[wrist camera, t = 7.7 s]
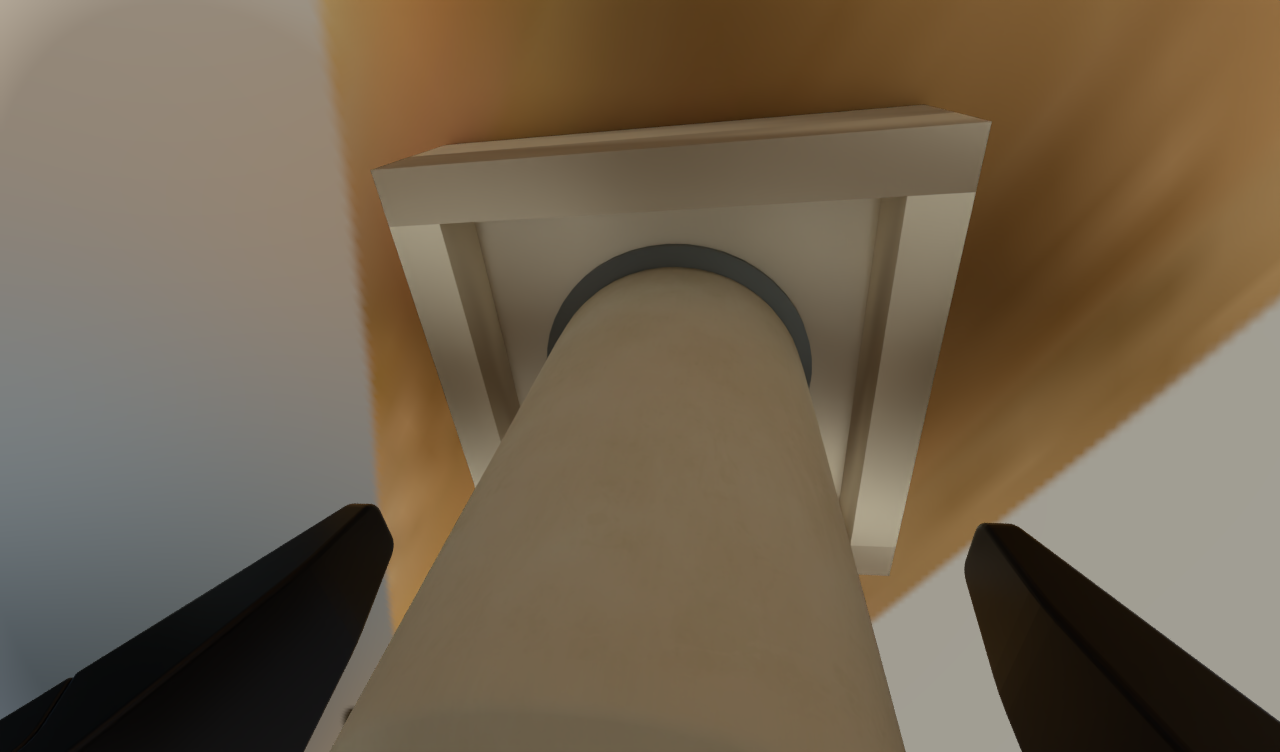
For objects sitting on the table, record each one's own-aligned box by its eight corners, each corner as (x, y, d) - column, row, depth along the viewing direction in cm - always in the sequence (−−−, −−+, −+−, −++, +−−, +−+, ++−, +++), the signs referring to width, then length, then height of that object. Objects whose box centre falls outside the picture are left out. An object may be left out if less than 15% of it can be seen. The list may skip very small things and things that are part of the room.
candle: (522, 292, 11) (-31, 977, 3) (783, 234, 10) (1112, 1171, 2) (599, 481, 14) (419, 1129, 6) (813, 456, 13) (998, 1251, 4)
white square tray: (861, 489, 15) (888, 575, 13) (532, 482, 17) (498, 558, 14) (924, 104, 10) (991, 121, 8) (445, 144, 12) (370, 170, 9)
